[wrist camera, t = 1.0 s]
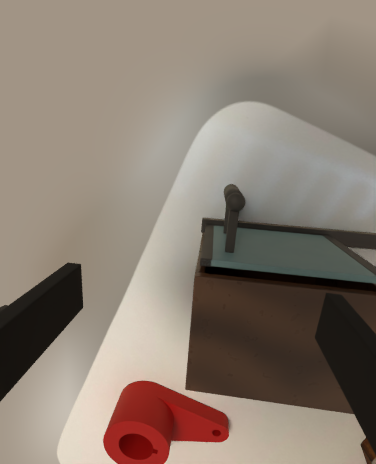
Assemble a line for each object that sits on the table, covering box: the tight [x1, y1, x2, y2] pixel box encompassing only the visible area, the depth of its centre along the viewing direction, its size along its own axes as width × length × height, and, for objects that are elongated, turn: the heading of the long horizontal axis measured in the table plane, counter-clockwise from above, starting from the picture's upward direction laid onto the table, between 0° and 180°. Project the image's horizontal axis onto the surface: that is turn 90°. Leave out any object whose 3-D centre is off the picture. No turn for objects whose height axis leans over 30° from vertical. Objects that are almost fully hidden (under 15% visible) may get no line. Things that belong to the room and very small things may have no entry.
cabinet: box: [185, 218, 376, 414], centre depth 28 cm, size 13×24×14 cm, turn 86°
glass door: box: [200, 184, 376, 284], centre depth 26 cm, size 6×15×11 cm, turn 86°
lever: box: [103, 381, 229, 464], centre depth 40 cm, size 18×9×7 cm, turn 81°
